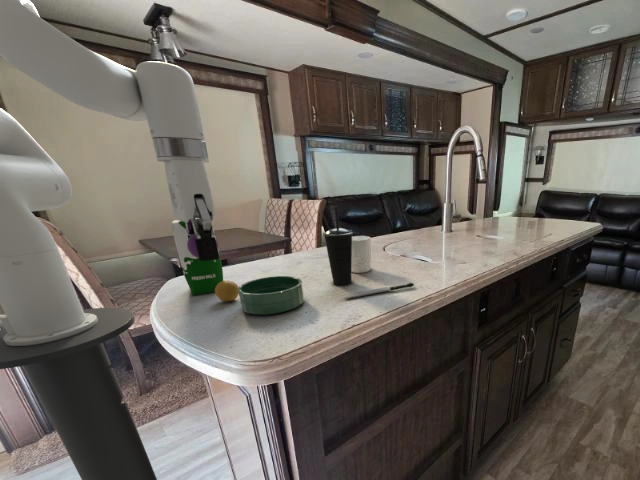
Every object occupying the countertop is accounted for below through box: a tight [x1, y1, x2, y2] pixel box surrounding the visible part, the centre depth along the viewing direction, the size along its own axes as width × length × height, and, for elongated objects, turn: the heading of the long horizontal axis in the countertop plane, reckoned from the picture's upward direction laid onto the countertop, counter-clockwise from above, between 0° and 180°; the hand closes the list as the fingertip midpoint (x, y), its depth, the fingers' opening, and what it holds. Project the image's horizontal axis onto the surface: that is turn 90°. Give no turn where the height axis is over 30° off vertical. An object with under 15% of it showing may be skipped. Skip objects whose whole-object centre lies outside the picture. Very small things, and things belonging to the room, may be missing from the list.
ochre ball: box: [214, 279, 239, 303], centre depth 74 cm, size 5×5×5 cm
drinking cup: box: [322, 207, 354, 286], centre depth 83 cm, size 8×8×20 cm
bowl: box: [238, 275, 305, 316], centre depth 71 cm, size 13×13×5 cm
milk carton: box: [171, 219, 224, 297], centre depth 80 cm, size 9×9×20 cm
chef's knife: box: [343, 282, 415, 300], centre depth 79 cm, size 19×1×3 cm
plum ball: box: [187, 234, 219, 258], centre depth 59 cm, size 5×5×5 cm
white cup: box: [351, 235, 372, 274], centre depth 97 cm, size 8×8×10 cm
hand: (205, 256), depth 60 cm, fingers closed on plum ball, 4 cm apart
